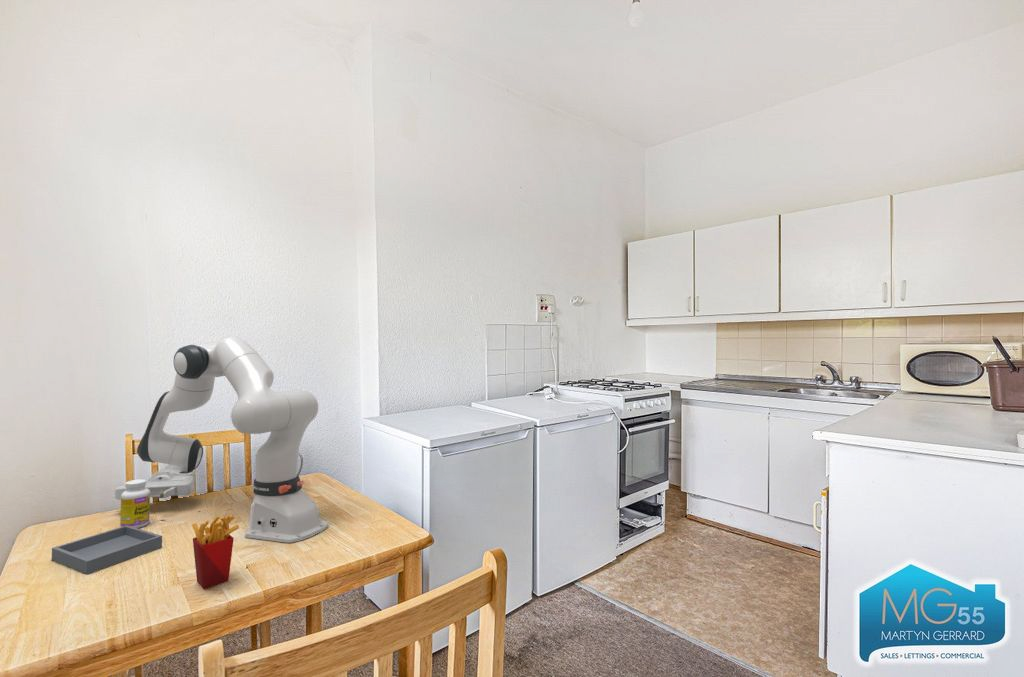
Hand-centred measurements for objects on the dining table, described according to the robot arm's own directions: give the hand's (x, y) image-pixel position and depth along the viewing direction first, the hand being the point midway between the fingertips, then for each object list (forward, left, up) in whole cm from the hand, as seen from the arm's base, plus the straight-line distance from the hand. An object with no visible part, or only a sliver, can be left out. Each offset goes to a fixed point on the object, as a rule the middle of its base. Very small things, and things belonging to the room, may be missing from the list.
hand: (144, 496), depth 143 cm
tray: (-17, +17, -7) cm, 25 cm away
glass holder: (-14, -39, -7) cm, 42 cm away
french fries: (-55, +14, -7) cm, 57 cm away
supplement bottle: (-3, +4, -7) cm, 9 cm away
